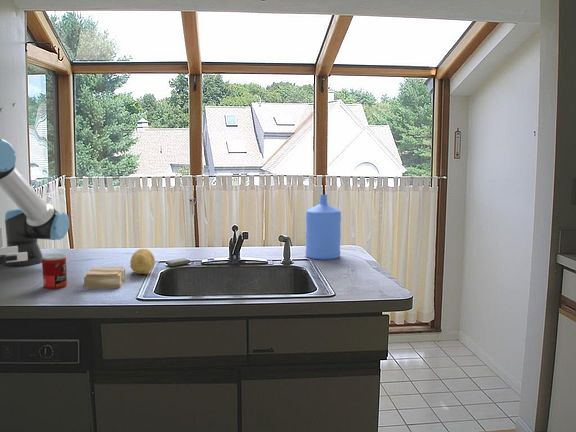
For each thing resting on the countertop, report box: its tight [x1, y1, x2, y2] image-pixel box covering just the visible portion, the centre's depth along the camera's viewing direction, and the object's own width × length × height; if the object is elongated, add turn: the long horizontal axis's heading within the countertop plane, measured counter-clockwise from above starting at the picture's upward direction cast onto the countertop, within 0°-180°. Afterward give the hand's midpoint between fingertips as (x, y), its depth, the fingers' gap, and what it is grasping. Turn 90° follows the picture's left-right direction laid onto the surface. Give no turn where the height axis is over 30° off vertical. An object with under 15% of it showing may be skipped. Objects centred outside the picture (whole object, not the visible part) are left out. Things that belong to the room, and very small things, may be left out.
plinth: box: [83, 266, 126, 290], centre depth 198 cm, size 12×12×5 cm
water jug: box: [305, 194, 342, 261], centre depth 246 cm, size 16×16×28 cm
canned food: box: [41, 253, 68, 290], centre depth 194 cm, size 8×8×11 cm
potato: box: [129, 248, 156, 275], centre depth 214 cm, size 10×14×10 cm
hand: (22, 252), depth 186 cm, fingers open, 13 cm apart
